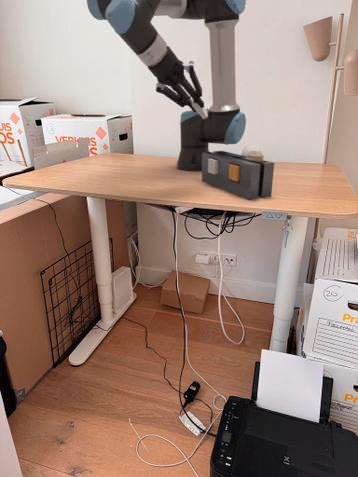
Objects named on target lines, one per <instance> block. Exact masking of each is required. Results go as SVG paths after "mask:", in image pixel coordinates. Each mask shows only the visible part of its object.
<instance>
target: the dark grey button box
mask: <svg viewBox="0 0 358 477" xmlns="http://www.w3.org/2000/svg"><path fill="white" fill-rule="evenodd" d="M212 158H216V159H219V162H218V174H212V173H209V172H208V159H212ZM229 164H238V165H240V181H238V182H236V181H234V180H231V179H229ZM274 171H275V162H272V161H268V160H264V159H263V160H260V159H256V158H251V157H247V156H243V155H242V154H237V153H233V152H228V151H225V150H217V151H212V152H211V151H209V152H202V170H201V181H202V182H204V183H206V184H209V185H211V186H214V187H216V188H218V189H222V190H223V191H226V192H229V193H231V194H233V195H236V196H238V197H241V198H243V199H246V200H249V201H251V200H258V198H261V199H264V198H271V197H272V192H273V183H274V182H273V181H274Z"/></svg>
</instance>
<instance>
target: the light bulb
mask: <svg viewBox="0 0 358 477" xmlns="http://www.w3.org/2000/svg"><path fill="white" fill-rule="evenodd" d="M251 151H256V152H258V151H260V150H259V149H258V147H257V145H255V144H253V143H251V144H247V145H246V146H244V147H243V149H242V151H241V155H243V156H247V157H248V154H249V153H250V152H251Z"/></svg>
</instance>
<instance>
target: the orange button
mask: <svg viewBox="0 0 358 477" xmlns="http://www.w3.org/2000/svg"><path fill="white" fill-rule="evenodd" d="M229 179H231V180H234V181H236V182H238V181H240V165H238V164H229Z"/></svg>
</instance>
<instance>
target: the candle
mask: <svg viewBox="0 0 358 477" xmlns="http://www.w3.org/2000/svg"><path fill="white" fill-rule="evenodd" d="M248 157H251V158H256V159H260V160H264V154H263V152H262V151H261V150H259V151H258V152H256V151H251V152H250V153H249V154H248Z"/></svg>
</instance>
